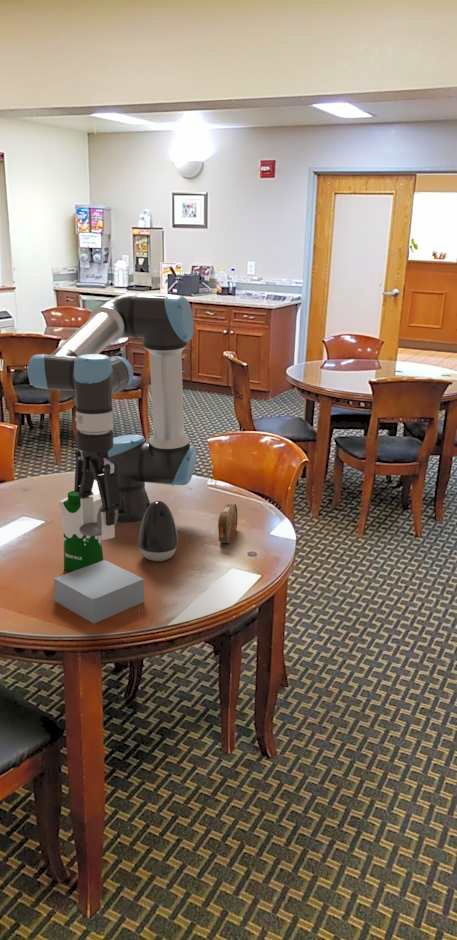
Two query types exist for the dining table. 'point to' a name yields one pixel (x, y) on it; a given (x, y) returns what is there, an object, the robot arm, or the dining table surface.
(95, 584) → the base block
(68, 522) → the milk carton
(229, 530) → the tin
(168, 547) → the black glossy egg shape
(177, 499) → the dining table surface
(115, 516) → the pocket watch
